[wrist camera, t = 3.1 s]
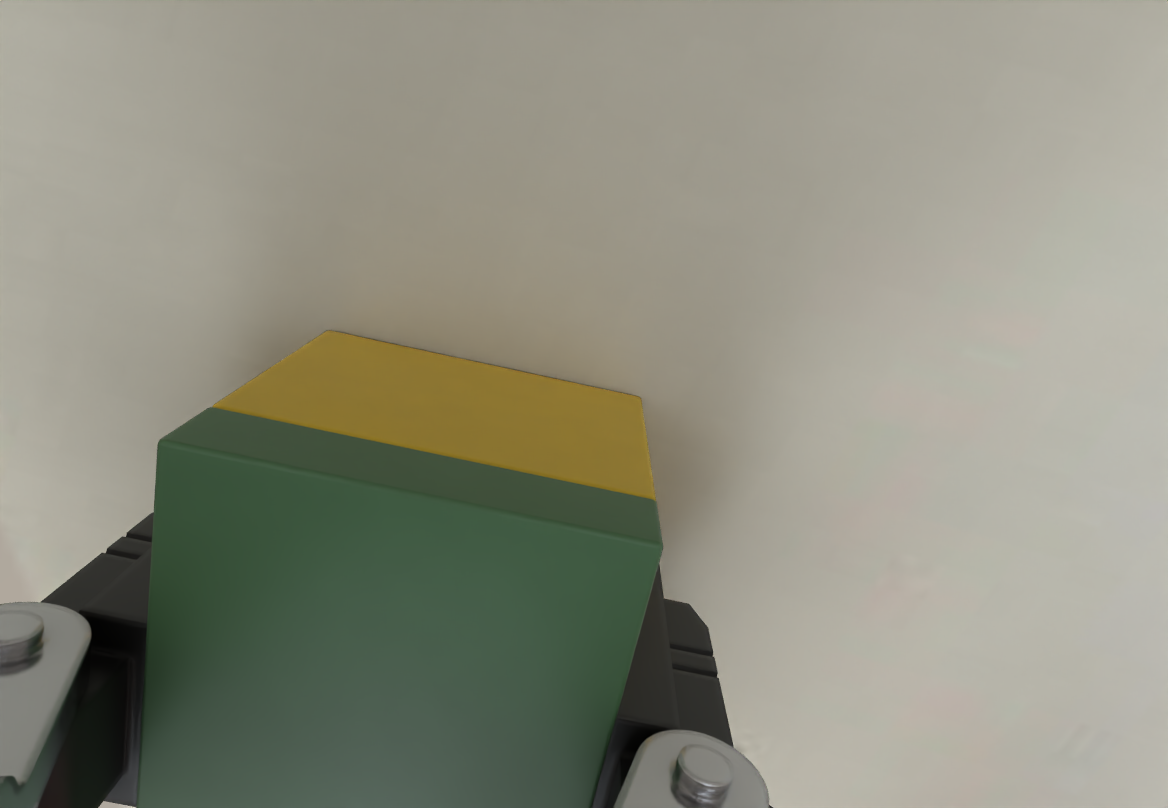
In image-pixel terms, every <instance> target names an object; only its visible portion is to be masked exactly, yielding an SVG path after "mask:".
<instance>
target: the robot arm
mask: <svg viewBox="0 0 1168 808" xmlns="http://www.w3.org/2000/svg"><path fill="white" fill-rule="evenodd" d="M153 517H154V513H151V514H150V515H148V516H147V517H146V518H145V519H143V520H142V521H141V522H140V523H138V524H137V525H136V526H135V527H134V528H132V529H131V530H130V531H129V532H127V535H126V537H121V538H120V539H119V540H117V541H116V542H115V543H114V544H112V545H111V546H110V547H109V548H107V551H106V553H101V554H100V555H99V556H97V557H96V558H95V559H94V560H92V561H91V562H90V563H89V564H87V565H86V566H85V567H84V568H82V569H81V570H80V571H79V572H77V573H76V574H75V575H74V576H72V577H71V578H70V579H69V580H67V581H66V582H65V583H64V584H62V585H61V586H60V587H59V588H57V589H56V590H55V591H54V592H52V593H51V594H50V595H49V596H47V597H46V598H45V599H44V600H42V601H41V602H15V603H5V604H0V808H98V807H99V806H100V805H101V803H102V802H103V801H107V802H112V803H118V804H123V805H128V806H134V807H136V806H137V789H138V772H139V755H140V738H141V721H142V704H143V687H144V670H145V653H146V636H147V619H148V602H149V585H150V568H151V551H152V534H153ZM717 673H718V672H717V668H716V663H715V658H714V657H713V649H712V644H711V640H710V635H709V630H708V627H707V626H706V625H705V623H704V622H703V621H702V620H701V618H700V617H699V616H698V615H697V613H696V612H695V611H694V610H693V608H692V607H691V606H690V605H689V604H687V603H682V602H677V601H672V600H667V599H664V598H663V590H662V582H661V575H660V567H659V564H658V568H657V572H656V575H655V579H654V583H653V586H652V590H651V594H650V597H649V601H648V605H647V608H646V612H645V615H644V619H643V623H642V626H641V630H640V634H639V637H638V641H637V645H636V648H635V652H634V656H633V659H632V663H631V667H630V670H629V674H628V678H627V681H626V685H625V688H624V692H623V696H622V699H621V703H620V707H619V710H618V714H617V717H616V721H615V724H614V728H613V732H612V735H611V739H610V743H609V746H608V750H607V753H606V757H605V761H604V764H603V768H602V772H601V775H600V779H599V783H598V786H597V790H596V794H595V797H594V801H593V805H592V808H773V807H771V806H770V805H769V795H768V789H767V787H766V784H765V782H764V780H763V778H762V776H761V775H760V773H759V772H758V770H757V769H756V768H755V767H754V765H753V764H752V763H751V762H750V761H749V760H748V759H747V758H746V757H745V756H744V755H742V754H741V753H740V752H739V751H737V750H736V749H735V748H734V747H733V742H732V738H731V733H730V728H729V724H728V719H727V714H726V710H725V705H724V700H723V696H722V691H721V686H720V682H719V678H717Z"/></svg>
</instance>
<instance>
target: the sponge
mask: <svg viewBox="0 0 1168 808" xmlns="http://www.w3.org/2000/svg"><path fill="white" fill-rule="evenodd" d="M662 550H663V543H662V536H661V530H660V523H659V516H658V509H657V503H656V497H655V490H654V483H653V476H652V469H651V463H650V456H649V449H648V442H647V435H646V429H645V422H644V415H643V408H642V401H641V398H640V397H638V396H633V395H628V394H624V393H619V392H614V391H610V390H605V389H600V388H596V387H591V386H586V385H582V384H577V383H572V382H568V381H563V380H559V379H554V378H549V377H545V376H540V375H535V374H531V373H526V372H521V371H517V370H512V369H507V368H503V367H498V366H493V365H489V364H484V363H479V362H475V361H470V360H465V359H461V358H456V357H451V356H447V355H442V354H437V353H433V352H428V351H423V350H419V349H414V348H409V347H405V346H400V345H395V344H391V343H386V342H381V341H377V340H372V339H367V338H363V337H358V336H353V335H349V334H344V333H339V332H335V331H330V330H329V331H326V332H324V333H323V334H321V335H319V336H318V337H316V338H315V339H313V340H312V341H310V342H309V343H307V344H306V345H304V346H303V347H301V348H300V349H298V350H297V351H295V352H293V353H292V354H290V355H289V356H287V357H286V358H284V359H283V360H281V361H280V362H278V363H277V364H275V365H274V366H272V367H271V368H269V369H267V370H266V371H264V372H263V373H261V374H260V375H258V376H257V377H255V378H254V379H252V380H251V381H249V382H248V383H246V384H244V385H243V386H241V387H240V388H238V389H237V390H235V391H234V392H232V393H231V394H229V395H228V396H226V397H225V398H223V399H222V400H220V401H218V402H217V403H215V404H214V405H213V407H211V408H208V409H206V410H204V411H203V412H201V413H200V414H198V415H197V416H195V417H194V418H192V419H191V420H189V421H188V422H186V423H185V424H183V425H182V426H180V427H178V428H177V429H175V430H174V431H172V432H171V433H169V434H168V435H166V436H165V437H163V438H162V439H160V441H159V443H158V449H157V466H156V483H155V500H154V517H153V534H152V551H151V568H150V585H149V602H148V619H147V636H146V653H145V670H144V687H143V704H142V721H141V738H140V755H139V772H138V789H137V806H136V808H592V805H593V801H594V797H595V794H596V790H597V786H598V783H599V779H600V775H601V772H602V768H603V764H604V761H605V757H606V753H607V750H608V746H609V743H610V739H611V735H612V732H613V728H614V724H615V721H616V717H617V714H618V710H619V707H620V703H621V699H622V696H623V692H624V688H625V685H626V681H627V678H628V674H629V670H630V667H631V663H632V659H633V656H634V652H635V648H636V645H637V641H638V637H639V634H640V630H641V626H642V623H643V619H644V615H645V612H646V608H647V605H648V601H649V597H650V594H651V590H652V586H653V583H654V579H655V575H656V572H657V568H658V564H659V561H660V557H661V553H662Z"/></svg>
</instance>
